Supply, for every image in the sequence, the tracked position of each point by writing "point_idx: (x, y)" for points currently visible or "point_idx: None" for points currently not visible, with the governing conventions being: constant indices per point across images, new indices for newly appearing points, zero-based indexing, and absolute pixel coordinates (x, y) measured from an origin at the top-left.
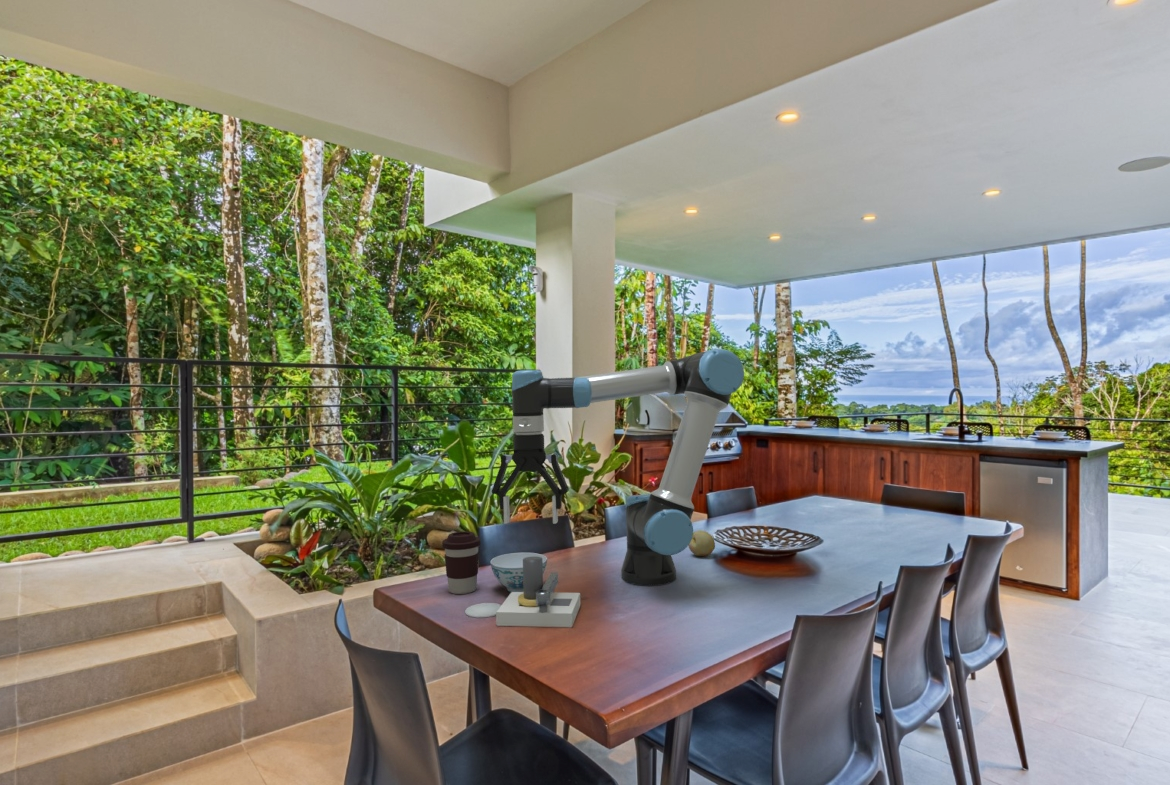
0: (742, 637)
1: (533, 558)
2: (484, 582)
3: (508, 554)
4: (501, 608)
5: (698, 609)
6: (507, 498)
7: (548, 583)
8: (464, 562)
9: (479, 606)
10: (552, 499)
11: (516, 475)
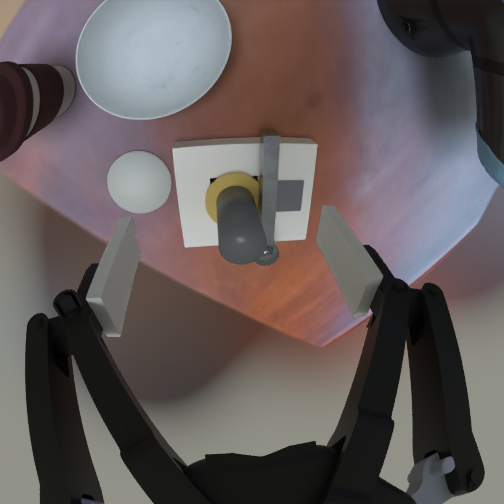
0: (452, 235)
1: (244, 241)
2: (75, 34)
3: (104, 3)
4: (186, 232)
5: (452, 163)
6: (115, 313)
7: (269, 212)
8: (35, 132)
9: (123, 172)
10: (350, 307)
11: (163, 439)
